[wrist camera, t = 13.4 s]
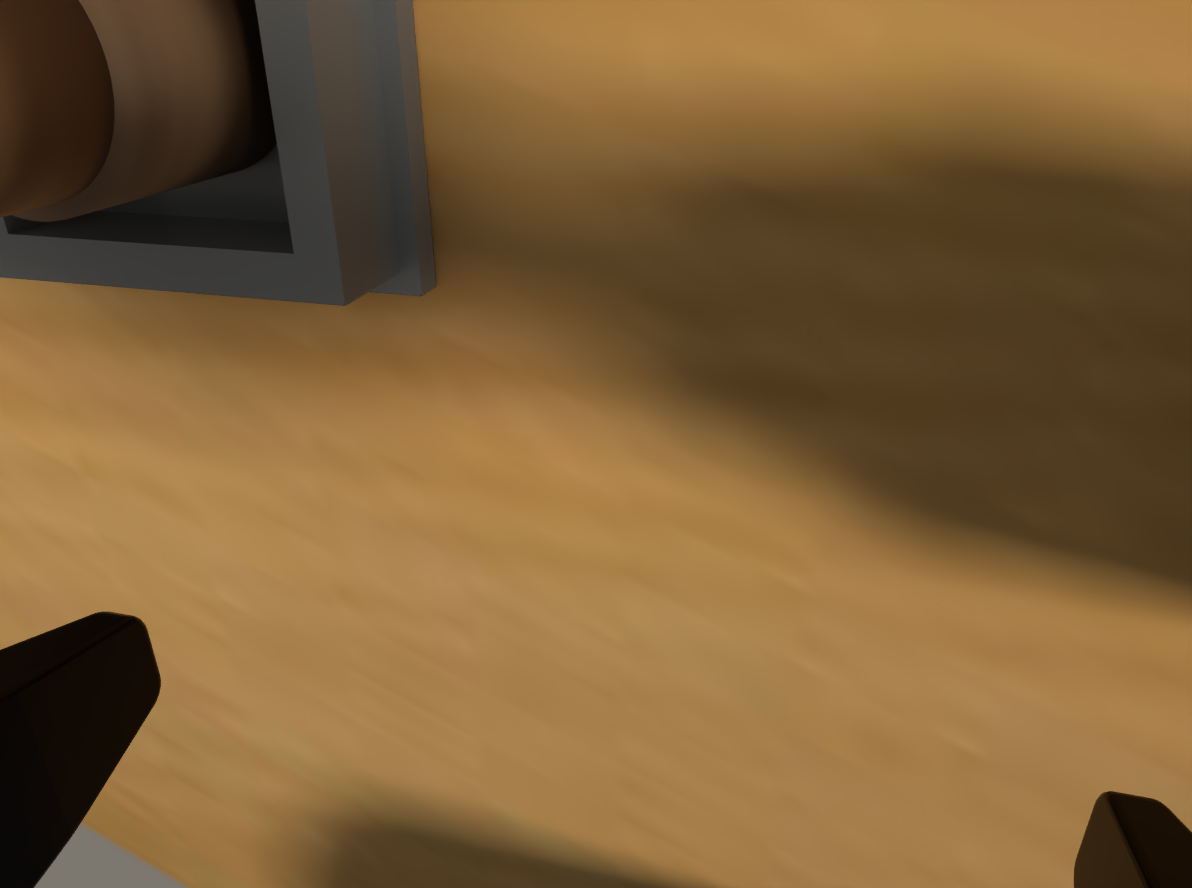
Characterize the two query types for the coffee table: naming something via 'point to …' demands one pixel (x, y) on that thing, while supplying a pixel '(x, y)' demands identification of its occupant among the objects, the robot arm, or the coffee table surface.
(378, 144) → the slate open box
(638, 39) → the coffee table surface
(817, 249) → the coffee table surface
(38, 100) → the pepper mill
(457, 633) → the coffee table surface
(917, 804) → the coffee table surface
